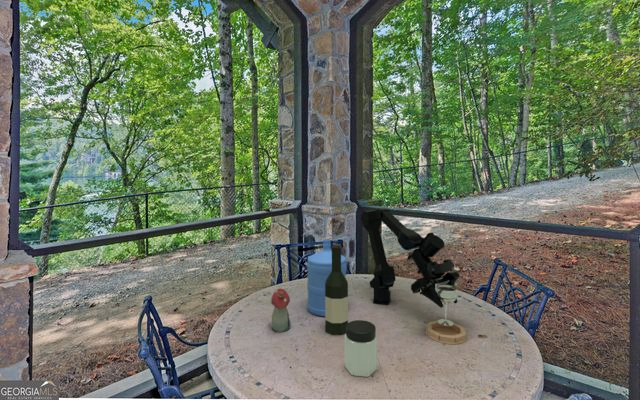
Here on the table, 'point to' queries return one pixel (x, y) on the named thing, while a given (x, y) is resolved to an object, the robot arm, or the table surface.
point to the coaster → (446, 333)
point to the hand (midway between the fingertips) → (449, 305)
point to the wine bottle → (336, 296)
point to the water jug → (320, 277)
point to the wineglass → (446, 299)
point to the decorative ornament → (280, 311)
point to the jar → (361, 348)
